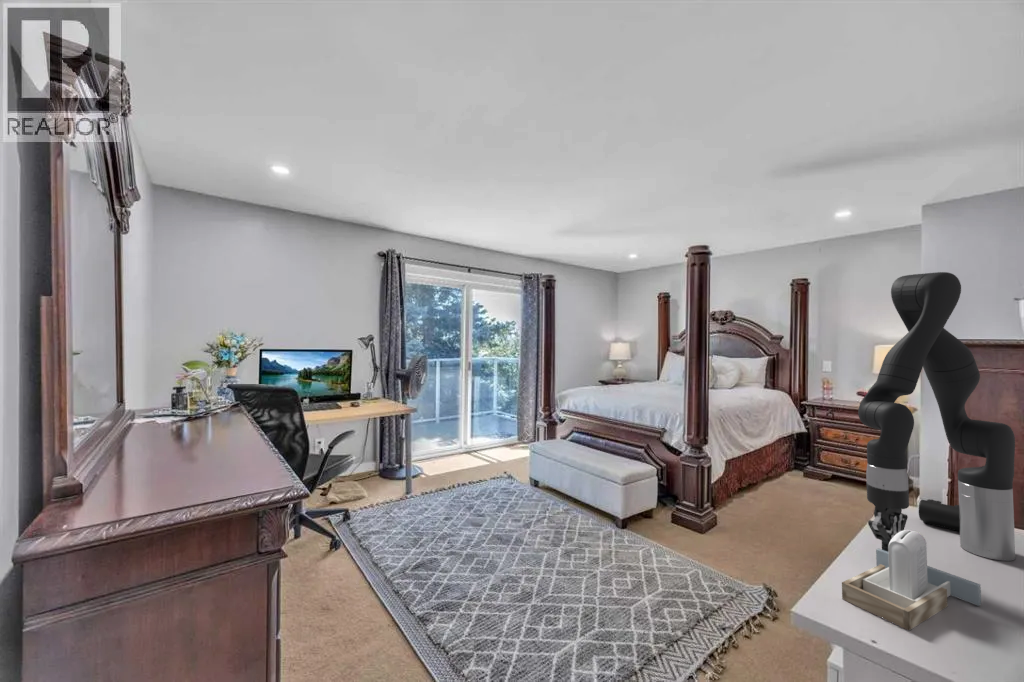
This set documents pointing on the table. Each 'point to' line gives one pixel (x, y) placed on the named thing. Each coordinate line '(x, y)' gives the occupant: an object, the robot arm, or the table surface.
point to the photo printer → (908, 564)
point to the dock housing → (889, 610)
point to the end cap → (939, 514)
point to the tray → (936, 580)
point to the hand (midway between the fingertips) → (889, 556)
